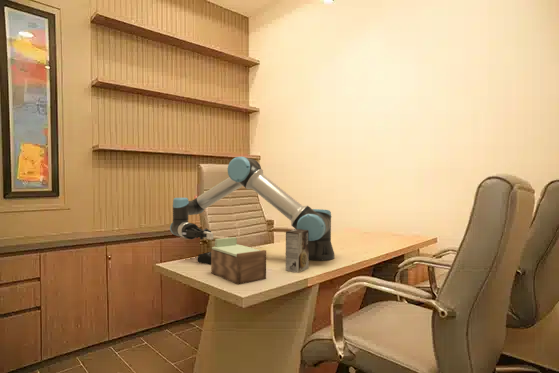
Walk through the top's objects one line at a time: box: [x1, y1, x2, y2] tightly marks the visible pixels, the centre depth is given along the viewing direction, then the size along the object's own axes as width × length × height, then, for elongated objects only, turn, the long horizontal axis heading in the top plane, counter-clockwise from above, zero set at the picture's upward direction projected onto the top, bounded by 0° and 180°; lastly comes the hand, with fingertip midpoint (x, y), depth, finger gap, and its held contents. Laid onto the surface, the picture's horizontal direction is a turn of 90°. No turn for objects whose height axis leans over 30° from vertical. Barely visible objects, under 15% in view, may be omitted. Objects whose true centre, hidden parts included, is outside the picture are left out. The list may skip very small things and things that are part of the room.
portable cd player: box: [197, 251, 211, 266], centre depth 157 cm, size 16×17×4 cm
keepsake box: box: [210, 249, 267, 285], centre depth 132 cm, size 20×12×10 cm, turn 39°
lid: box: [211, 236, 261, 257], centre depth 133 cm, size 18×12×4 cm, turn 39°
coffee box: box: [285, 228, 309, 273], centre depth 143 cm, size 9×6×16 cm
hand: (211, 236), depth 149 cm, fingers closed
